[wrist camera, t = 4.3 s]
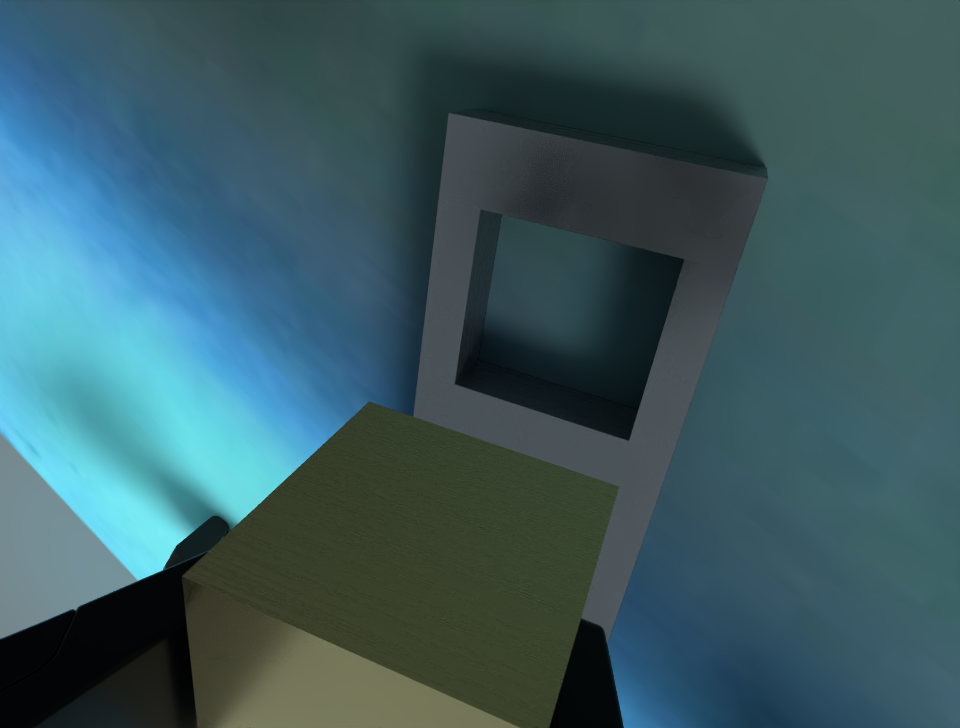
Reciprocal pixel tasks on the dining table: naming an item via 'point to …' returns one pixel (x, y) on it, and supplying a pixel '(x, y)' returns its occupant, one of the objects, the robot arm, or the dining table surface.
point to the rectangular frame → (602, 214)
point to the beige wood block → (397, 586)
